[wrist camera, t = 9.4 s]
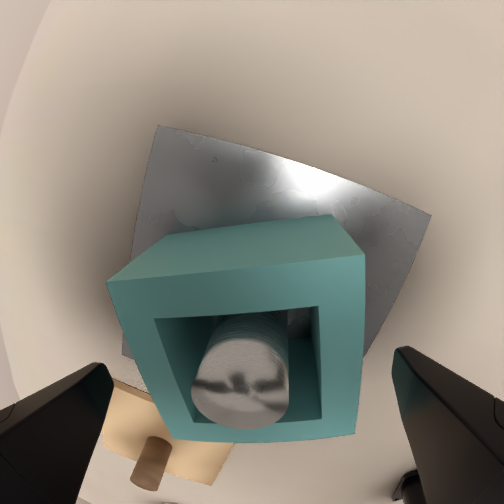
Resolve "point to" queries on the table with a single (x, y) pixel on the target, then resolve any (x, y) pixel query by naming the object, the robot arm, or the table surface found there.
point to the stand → (156, 442)
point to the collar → (248, 301)
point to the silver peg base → (261, 210)
